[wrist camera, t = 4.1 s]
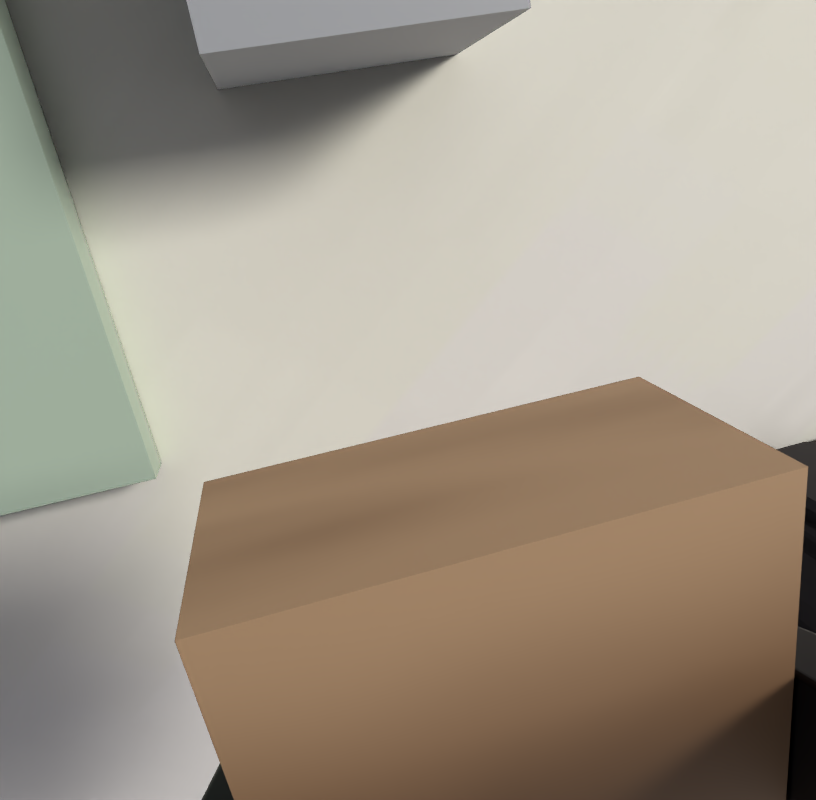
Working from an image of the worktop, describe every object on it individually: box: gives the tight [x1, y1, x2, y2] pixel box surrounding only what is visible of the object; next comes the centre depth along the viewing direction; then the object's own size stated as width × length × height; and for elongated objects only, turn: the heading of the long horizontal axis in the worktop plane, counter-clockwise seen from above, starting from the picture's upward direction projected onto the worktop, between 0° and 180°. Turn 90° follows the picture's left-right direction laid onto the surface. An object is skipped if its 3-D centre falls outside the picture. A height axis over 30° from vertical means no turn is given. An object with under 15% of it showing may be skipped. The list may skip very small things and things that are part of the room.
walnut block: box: [175, 377, 808, 800], centre depth 8 cm, size 7×6×3 cm
